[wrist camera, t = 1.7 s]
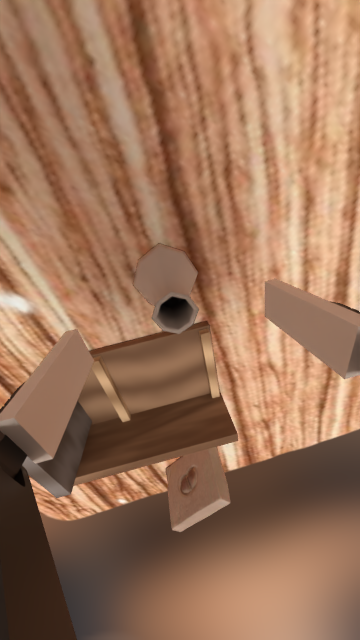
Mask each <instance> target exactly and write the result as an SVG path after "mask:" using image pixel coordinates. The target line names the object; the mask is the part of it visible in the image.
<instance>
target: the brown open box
mask: <svg viewBox="0 0 360 640" xmlns="http://www.w3.org/2000/svg"><path fill="white" fill-rule="evenodd" d="M89 352H90V354H91V356H92V358H93V360H94V362H93V364H92V367H91V369H90V371H89V374H88V376H87V379H86V381H85V383H84V386H83V388H82V391H81V393H80V395H79V398H78V400H77V403H76V405H75V407H74V410H73V412H72V415H71V417H70V420H69V422H68V424H67V427H66V429H65V432H64V434H63V436H62V439H61V441H60V444H59V446H58V448H57V451H56V453H55V456H54V458H53V459H50V460H47V461H43V462H39V463H36V464H35V463H34V462H33V461H32V460H31V459H30V458H29V457H28V456H27V457H26V459H25V461H24V463H23V465H22V466H23V467H25V469H26V470H27V472H28V475H29V476H30V477H32V478H33V479H34V480H35V481H37V482H38V483H39V484H40V485H41V486H43V487H44V488H45V489H46V490H48V491H49V492H50V493H51V494H53V495H54V496H55V497H56V498H59V497H63V496H66V495H70V494H71V492H72V489H73V486H75V485H78V484H82V483H86V482H89V481H93V480H97V479H100V478H104V477H108V476H111V475H115V474H119V473H122V472H126V471H129V470H133V469H137V468H140V467H144V466H148V465H151V464H155V463H159V462H162V461H166V460H170V459H173V458H177V457H181V456H184V455H188V454H192V453H195V452H199V451H202V450H206V449H210V448H213V447H217V446H221V445H224V444H228V443H232V442H235V441H238V434H237V431H236V429H235V427H234V424H233V422H232V419H231V417H230V415H229V412H228V410H227V407H226V405H225V402H224V400H223V398H222V395H221V393H220V390H219V383H218V377H217V370H216V364H215V358H214V351H213V345H212V338H211V332H210V325H209V324H208V322H207V321H205V322H201V323H197V324H193V325H192V326H190V327H189V328H187V329H186V330H185V331H183V332H182V333H180V334H176V333H171V332H162V333H158V334H154V335H150V336H146V337H142V338H138V339H134V340H130V341H126V342H122V343H119V344H115V345H111V346H107V347H103V348H99V349H95V350H91V351H89Z"/></svg>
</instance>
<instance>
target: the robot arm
mask: <svg viewBox="0 0 360 640" xmlns="http://www.w3.org/2000/svg"><path fill="white" fill-rule="evenodd" d="M265 317H266V318H268V319H269V320H270V321H271V322H273V323H274V324H275V325H276V326H278V327H279V328H280V329H282V330H283V331H284V332H285V333H287V334H288V335H289V336H290V337H292V338H293V339H294V340H296V341H297V342H298V343H299V344H301V345H302V346H303V347H304V348H306V349H307V350H308V351H310V352H311V353H312V354H313V355H315V356H316V357H317V358H318V359H320V360H321V361H322V362H324V363H325V364H326V365H327V366H329V367H330V368H331V369H332V370H334V371H335V372H336V373H338V374H339V375H340V376H341V377H343V378H344V379H347V378H351V377H354V376H358V375H360V312H359V311H358V310H355V309H353V308H352V309H351V308H350V307H348V306H345V305H343V304H340V303H335V302H330V301H327V300H325V299H322V298H320V297H318V296H315V295H313V294H311V293H308V292H306V291H303V290H301V289H299V288H296V287H294V286H291V285H289V284H287V283H284V282H282V281H280V280H277V279H272V280H268V281H265ZM93 362H94V360H93V358H92V356H91V354H90V352H89V350H88V349H87V347H86V345H85V343H84V341H83V339H82V337H81V336H80V334H79V332H78V330H77V329H75V330H71V331H67V332H65V333H64V334H63V336H62V337H61V338H60V339H59V341H58V342H57V343H56V344H55V346H54V347H53V348H52V349H51V351H50V352H49V353H48V354H47V356H46V357H45V358H44V359H43V361H42V362H41V363H40V364H39V366H38V367H37V368H36V369H35V371H34V372H33V373H32V375H31V376H30V377H29V378H28V380H27V381H26V382H25V383H23V384H22V385H21V386H20V387H19V388H17V390H16V391H15V392H14V393H13V395H12V396H11V397H10V399H8V401H7V402H6V403H5V404H4V405H5V406H3V407H2V408H1V409H0V640H77V639H76V635H75V632H74V628H73V625H72V621H71V618H70V615H69V611H68V608H67V604H66V601H65V598H64V594H63V591H62V587H61V584H60V581H59V577H58V574H57V571H56V567H55V564H54V560H53V557H52V554H51V550H50V547H49V544H48V540H47V537H46V533H45V530H44V527H43V523H42V520H41V516H40V513H39V510H38V506H37V503H36V499H35V496H34V493H33V489H32V486H31V482H30V479H29V476H28V472H27V470H26V469H25V467H23V466H22V465H23V463H24V461H25V459H26V457H27V456H28V457H29V458H30V459H31V460H32V461H33V462H34V463H35V464H36V463H39V462H43V461H47V460H50V459H53V458H54V456H55V453H56V451H57V448H58V446H59V444H60V441H61V439H62V436H63V434H64V432H65V429H66V427H67V424H68V422H69V420H70V417H71V415H72V412H73V410H74V407H75V405H76V403H77V400H78V398H79V395H80V393H81V391H82V388H83V386H84V383H85V381H86V379H87V376H88V374H89V371H90V369H91V367H92V364H93Z"/></svg>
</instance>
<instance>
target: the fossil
mask: <svg viewBox="0 0 360 640" xmlns="http://www.w3.org/2000/svg"><path fill="white" fill-rule="evenodd" d="M166 475H167V482H168V497H169V508H170V517H171V527H172V530H175V531H179V532H181V531H183V530H185V529H186V528H188V527H190V526H191V525H193V524H195V523H196V522H198V521H200V520H202V519H204V518H206V517H207V516H209V515H211V514H213V513H214V512H216V511H218V510H219V509H221V508H222V507H224V506H226V505H228V504H229V503H230V498H229V490H228V485H227V481H226V477H225V474H224V471H223V467H222V464H221V460H220V457H219V454H218V450H217V447H213V448H210V449H206V450H202V451H199V452H195V453H192V454H188V455H184V456H182V457H180V458H179V459H178V460H177V461H175V462H174V463H173V464H172V465H170V466H169V467H167V468H166Z"/></svg>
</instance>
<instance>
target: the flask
mask: <svg viewBox="0 0 360 640" xmlns="http://www.w3.org/2000/svg"><path fill="white" fill-rule="evenodd" d="M197 274H198V271H197V270H196V268H195V267H194V265H193V264H192V262H191V261H190V259H189V258H188V256H187V255H186V253H185V252H184V251H181V250H178V249H175V248H172V247H169V246H166V245H163V244H160V243H159V244H157V245H156V246H155V247H154V248H152V249H151V250H150V251H149V252H147V253H146V254H145V255H144V256H142V257H141V258H140V259H139V260H138V263H137V267H136V272H135V277H134V281H133V286H134V287H135V288H136V289H137V290H138V291H139V292H140V294H141V295H142V296H143V297H144V298H145V299H146V300H147V301H148V303H150V304H151V305H153V306H155V308H154V311H153V315H152V319H153V321H154V322H155V323H156V324H157V325H158V326H159V327H160V328H161V329H162V330H163V331H166V332H171V333H176V334H180V333H182V332H183V331H185V330H186V329H187V328H189V327H190V326H192V325H193V324H194V321H195V318H196V316H197V313H198V311H199V308H198V307H197V306H196V304H195V303H194V301H193V300H192V299H191V297H190V294H191V291H192V288H193V285H194V283H195V280H196V277H197Z"/></svg>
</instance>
